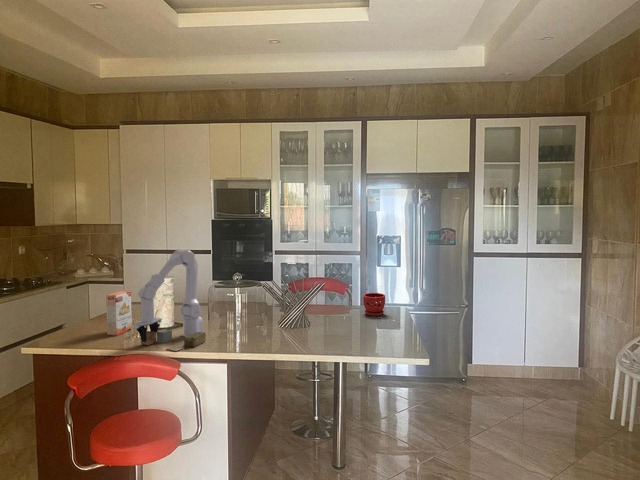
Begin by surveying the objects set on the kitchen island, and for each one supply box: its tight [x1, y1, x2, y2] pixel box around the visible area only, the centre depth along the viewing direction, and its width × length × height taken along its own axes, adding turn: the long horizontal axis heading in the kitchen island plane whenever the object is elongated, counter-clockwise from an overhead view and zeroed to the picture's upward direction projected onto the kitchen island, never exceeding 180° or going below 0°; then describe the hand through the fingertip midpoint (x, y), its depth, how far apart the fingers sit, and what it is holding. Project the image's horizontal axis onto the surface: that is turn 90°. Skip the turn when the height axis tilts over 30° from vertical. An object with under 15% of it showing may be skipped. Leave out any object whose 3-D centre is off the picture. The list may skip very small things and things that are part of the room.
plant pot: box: [362, 292, 386, 317], centre depth 299 cm, size 13×13×12 cm
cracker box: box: [105, 290, 133, 337], centre depth 260 cm, size 14×6×21 cm, turn 168°
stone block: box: [183, 331, 207, 348], centre depth 237 cm, size 6×12×5 cm, turn 162°
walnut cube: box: [140, 330, 157, 346], centre depth 238 cm, size 5×5×5 cm
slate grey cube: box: [156, 328, 173, 343], centre depth 244 cm, size 5×5×5 cm
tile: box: [165, 345, 187, 353], centre depth 229 cm, size 6×6×1 cm
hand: (148, 340), depth 238 cm, fingers closed on walnut cube, 5 cm apart
